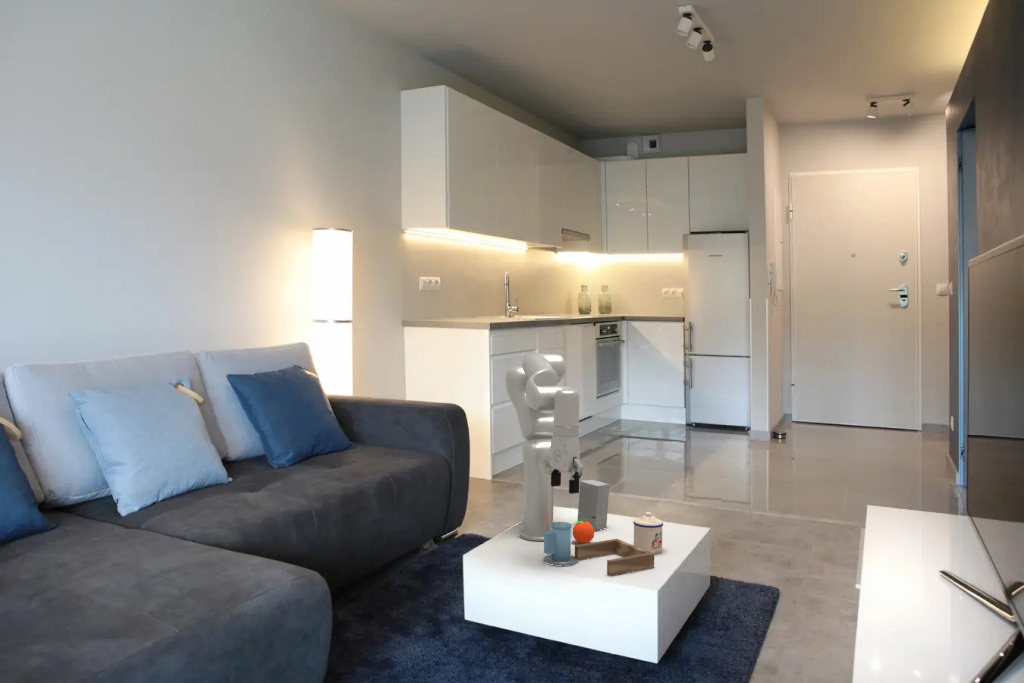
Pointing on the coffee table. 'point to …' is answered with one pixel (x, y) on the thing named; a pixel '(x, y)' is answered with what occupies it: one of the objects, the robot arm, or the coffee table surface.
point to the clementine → (583, 532)
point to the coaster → (572, 561)
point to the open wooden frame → (630, 554)
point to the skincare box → (593, 503)
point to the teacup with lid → (648, 533)
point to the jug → (558, 541)
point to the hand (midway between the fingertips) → (564, 489)
